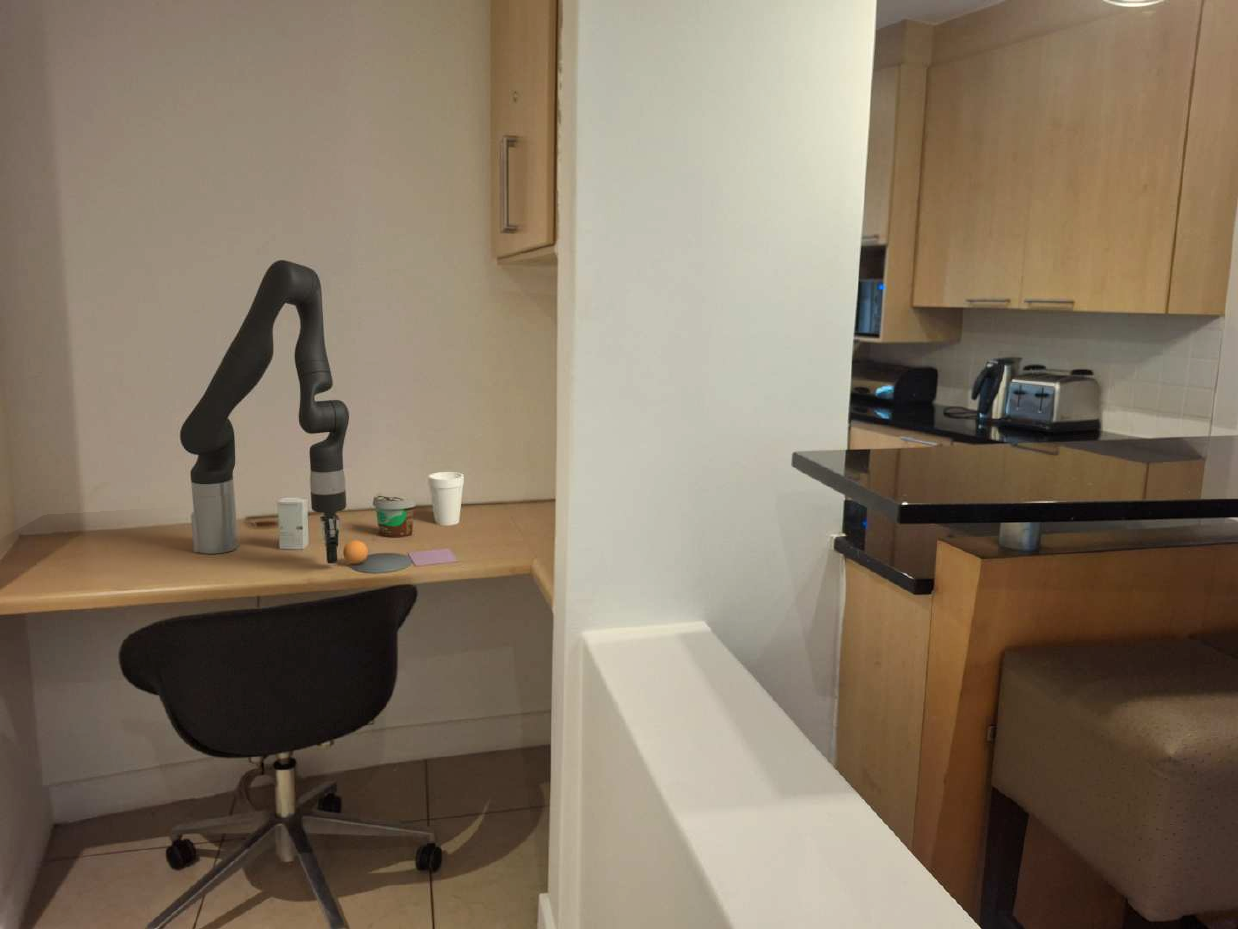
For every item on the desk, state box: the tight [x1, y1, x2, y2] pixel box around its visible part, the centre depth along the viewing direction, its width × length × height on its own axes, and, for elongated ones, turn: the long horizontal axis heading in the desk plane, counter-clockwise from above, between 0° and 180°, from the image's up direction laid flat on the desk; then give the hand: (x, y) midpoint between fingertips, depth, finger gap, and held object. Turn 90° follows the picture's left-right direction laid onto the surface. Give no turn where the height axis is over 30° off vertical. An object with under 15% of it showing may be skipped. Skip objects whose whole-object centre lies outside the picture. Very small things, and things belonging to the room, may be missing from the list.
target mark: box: [349, 552, 413, 574], centre depth 208 cm, size 14×14×1 cm
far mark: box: [407, 548, 459, 567], centre depth 212 cm, size 10×10×1 cm
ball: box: [342, 540, 369, 564], centre depth 206 cm, size 6×6×6 cm
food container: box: [372, 492, 416, 539], centre depth 228 cm, size 12×6×10 cm, turn 62°
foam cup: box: [427, 471, 465, 526], centre depth 240 cm, size 10×9×13 cm
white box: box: [277, 496, 309, 550], centre depth 217 cm, size 6×4×12 cm
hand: (332, 562), depth 203 cm, fingers closed
